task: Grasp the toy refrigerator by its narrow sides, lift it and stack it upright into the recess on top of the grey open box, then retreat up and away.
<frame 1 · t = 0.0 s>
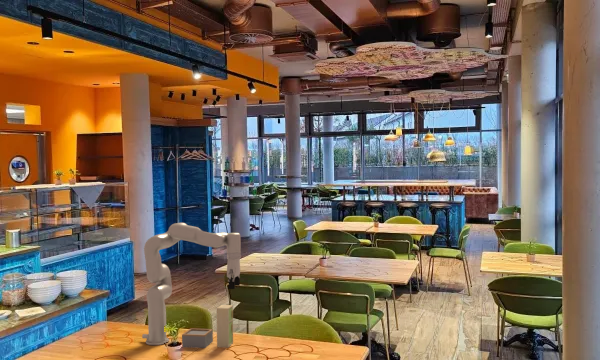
hand: (234, 287, 281), 31 cm above the table, tool pointing down, fingers open, 9 cm apart
grey open box: (197, 344, 283), on the table
toy refrigerator: (225, 345, 280), on the table
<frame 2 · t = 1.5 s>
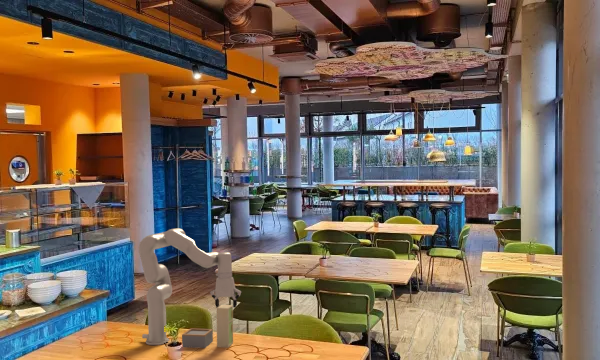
hand: (226, 307, 280), 21 cm above the table, tool pointing down, fingers open, 9 cm apart
nothing on the table moved.
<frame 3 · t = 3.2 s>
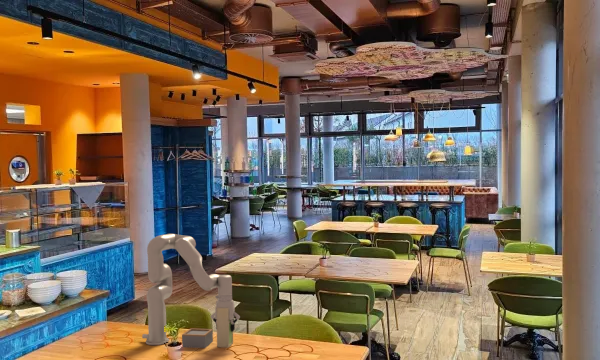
hand: (225, 330, 280), 8 cm above the table, tool pointing down, fingers closed on toy refrigerator, 7 cm apart
toy refrigerator: (225, 345, 280), on the table, touching gripper
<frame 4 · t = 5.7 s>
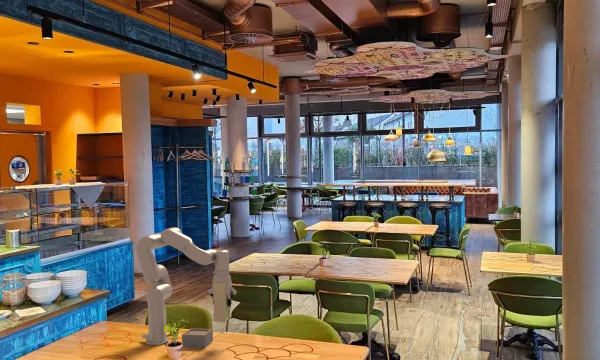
hand: (222, 305, 281), 21 cm above the table, tool pointing down, fingers closed on toy refrigerator, 7 cm apart
toy refrigerator: (222, 320, 281), point 13 cm above the table, touching gripper
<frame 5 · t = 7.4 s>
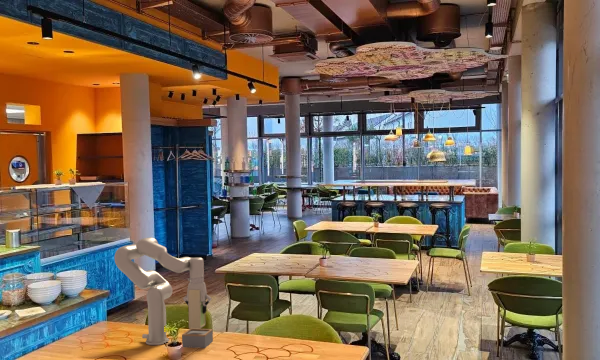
hand: (197, 312, 283), 17 cm above the table, tool pointing down, fingers closed on toy refrigerator, 7 cm apart
toy refrigerator: (197, 327, 283), point 9 cm above the table, touching gripper
when the fingers open (15 cm above the table, at t = 8.7 s): toy refrigerator drops 1 cm, resting on grey open box.
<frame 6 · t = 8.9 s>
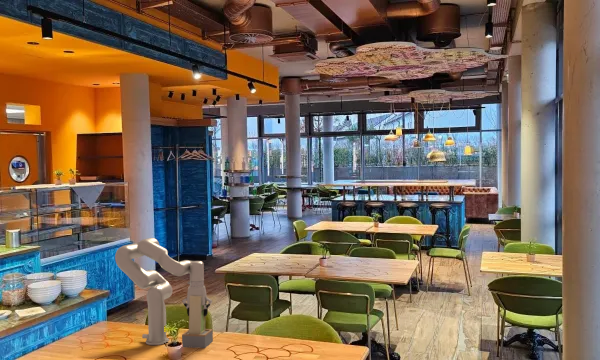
hand: (197, 315, 283), 16 cm above the table, tool pointing down, fingers open, 8 cm apart
toy refrigerator: (197, 333, 283), point 6 cm above the table, touching grey open box
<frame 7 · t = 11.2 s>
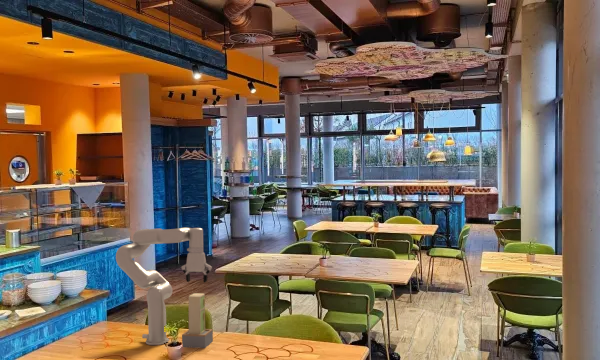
hand: (196, 281, 283), 34 cm above the table, tool pointing down, fingers open, 9 cm apart
nothing on the table moved.
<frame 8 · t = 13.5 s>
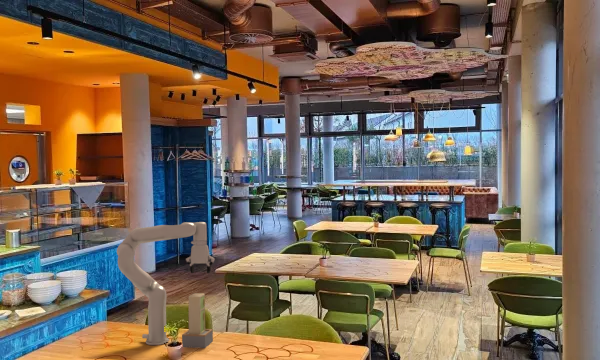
hand: (200, 272, 300), 36 cm above the table, tool pointing down, fingers open, 9 cm apart
nothing on the table moved.
at the end: toy refrigerator 0.1 cm off-centre on the grey open box, point 5.8 cm above the grey open box's base; toy refrigerator tilted 0°; the gripper is holding nothing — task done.
